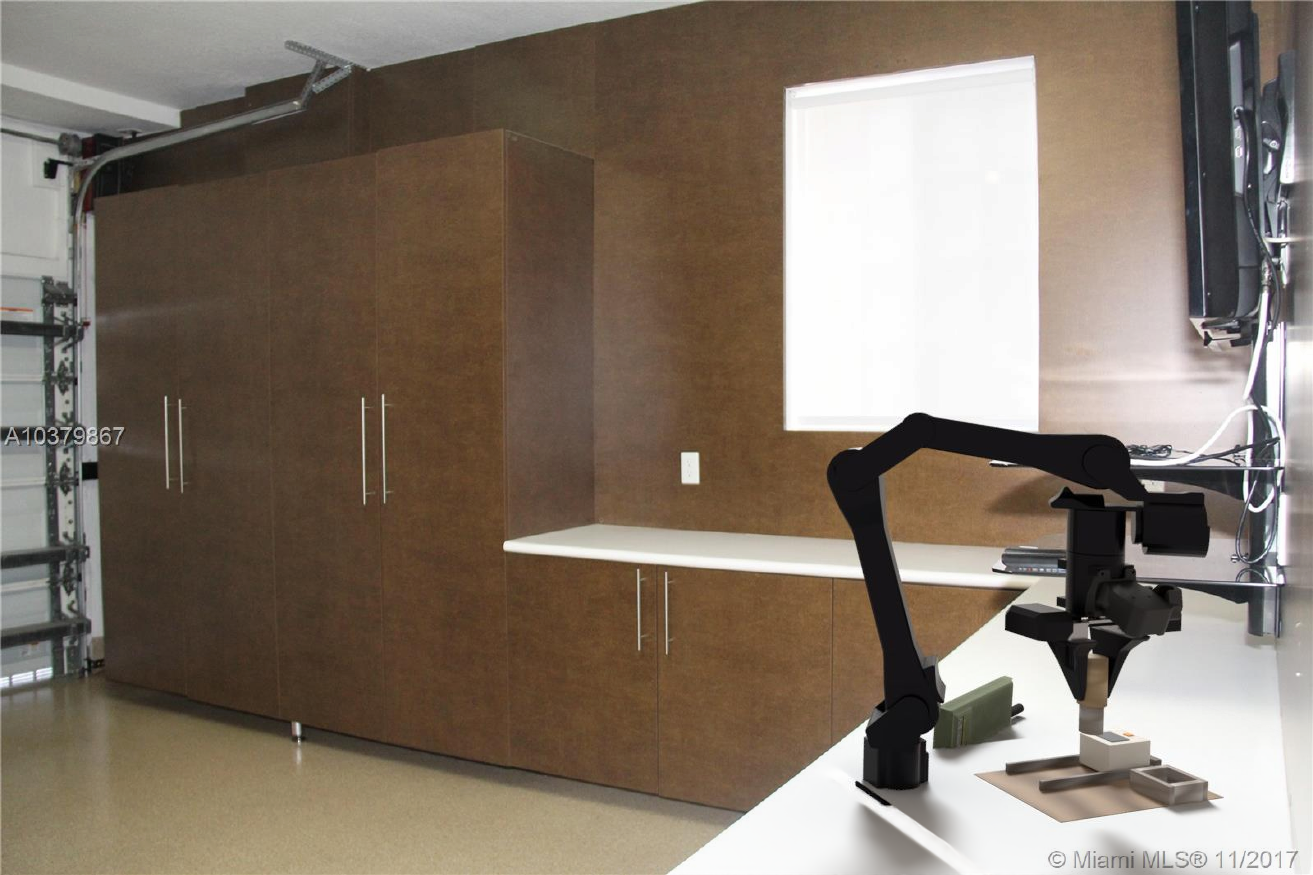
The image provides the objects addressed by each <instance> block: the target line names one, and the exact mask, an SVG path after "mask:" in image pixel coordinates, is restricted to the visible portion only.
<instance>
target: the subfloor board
mask: <svg viewBox="0 0 1313 875" xmlns="http://www.w3.org/2000/svg"><path fill="white" fill-rule="evenodd" d="M1079 755H1080V753H1077V754H1076V753H1074V754H1067V755H1061V756H1052V757H1044V758H1036V759H1028V760H1020V761H1019V760H1018V761H1012V762H1011V761H1010V762H1006V763H1005V769H1002V770H995V771H993V770H992V771H986V772H979V773H974V774H973V775H974V776H976V777H977V778H980V780H981V779H982V780H983V781H986V782H987V783H988V784H991V785H993V786H994V787H996V788H998V789H999V790H1002V791H1003V792H1005V793H1007V794H1009V795H1010V796H1013V797H1014V798H1016V799H1018V800H1019V801H1021V802H1023V803H1025V804H1026V805H1028V806H1030V807H1032V808H1034V809H1035V810H1038V811H1039V812H1041V813H1043V814H1045V815H1047V816H1048V817H1050V818H1052V819H1054V820H1056V821H1057V822H1059V823H1067V822H1073V821H1081V820H1086V819H1093V818H1099V817H1100V818H1101V817H1105V816H1113V815H1119V814H1126V813H1132V812H1140V811H1146V810H1153V809H1159V808H1164V807H1165V808H1166V807H1171V806H1179V805H1184V804H1190V803H1198V802H1204V801H1211V800H1218V799H1222V798H1223V799H1224V796H1222V795H1220V794H1217V793H1215V792H1212V791H1210V790H1209V781H1208V780H1206V779H1204V778H1202V777H1198V776H1197V775H1194V774H1192V773H1189V772H1186V771H1184V770H1182V769H1179V768H1177V767H1175V766H1172V765H1170V764H1167V763H1166V764H1162V763H1163V762H1162V761H1163V759H1161V758H1159V757H1156V756H1153V755H1152V754H1150V766H1143V767H1135V768H1128V769H1120V770H1113V771H1105V772H1099V771H1097V770H1095V769H1093V768H1091V767H1089V766H1086V765H1084V764H1082V763H1080V762H1079Z"/></svg>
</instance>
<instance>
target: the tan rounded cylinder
mask: <svg viewBox="0 0 1313 875" xmlns="http://www.w3.org/2000/svg"><path fill="white" fill-rule="evenodd" d="M1107 696H1108V657H1106V656H1103V655H1098V654H1092V653H1089V654H1088V666H1087V684H1086V693H1085V698H1084V701H1078V700H1076V699H1075V701H1076V703H1077V705H1078V708H1079V709H1078V711H1079V712H1078V732H1079V733H1084V734H1088V735H1102V734H1103V730H1104V726H1105V725H1104V723H1105V722H1104V721H1105V708H1107V707H1108V698H1107Z"/></svg>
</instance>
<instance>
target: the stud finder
mask: <svg viewBox="0 0 1313 875" xmlns="http://www.w3.org/2000/svg"><path fill="white" fill-rule="evenodd" d="M1079 754H1080V755H1079V762H1080V763H1082V764H1084V765H1086V766H1089V767H1091V768H1093V769H1095V770H1097V771H1099V772H1105V771H1113V770H1120V769H1128V768H1135V767H1143V766H1150V755H1151V739H1148V738H1145V737H1143V736H1140V735H1137V734H1135V733H1133V732H1130V731H1127V730H1126V729H1123V728H1120V727H1119V728H1113V729H1112V728H1111V729H1103V734H1102V735H1088V734H1084V733H1081V732H1079Z"/></svg>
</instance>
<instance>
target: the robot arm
mask: <svg viewBox="0 0 1313 875" xmlns="http://www.w3.org/2000/svg"><path fill="white" fill-rule="evenodd" d="M921 449H930V450H935V451H940V452H946V453H951V454H956V455H962V456H970V457H975V458H981V459H984V460H985V459H986V460H991V461H998V462H1003V463H1009V464H1014V465H1019V466H1026V467H1031V468H1034V469H1036V470H1038V471H1039V470H1040V471H1041V472H1045V473H1047V474H1050V475H1053V476H1055V477H1058V478H1061V479H1064V480H1066V481H1069V482H1072V483H1076V484H1078V485H1081V486H1084V487H1087V488H1090V489H1092V490H1096V491H1097V490H1098V491H1099V490H1100V491H1102V490H1103V491H1105V490H1109V491H1111V492H1112V493H1114V494H1116V495H1118V496H1119V497H1121V498H1123V499H1124V500H1126V501H1128V502H1136V504H1130V503H1129V504H1128V503H1111V502H1106V501H1105V497H1104V494H1103V493H1086V492H1082V493H1081V492H1073V490H1071V488H1070V487H1069V486H1068V485H1066V484H1065V485H1063V486H1062V487H1061V488H1060V490H1059V491H1058V492H1057V493H1056V494H1055V495H1054V496H1053V497H1051V498H1049V499H1048V501H1047V502H1048V505H1049V506H1050V507H1051V508H1052V509H1055V510H1056V509H1058V510H1059V509H1060V510H1066V512H1067V513H1066V514H1067V515H1066V517H1067V518H1066V552H1065V558H1057V564H1056V565H1057V566H1056V567H1057V569H1061V570H1065V581H1064V582H1065V584H1064V586H1065V591H1064V595H1062V596H1056V604H1055V605H1056V606H1055V607H1053V606H1049V605H1045V604H1043V603H1039V602H1036V603H1035V602H1034V603H1021V604H1020V603H1019V604H1011V605H1010V606H1009V608H1008V609H1007V610H1006V611H1005V615H1004V631H1006V632H1009V633H1013V634H1015V635H1019V636H1022V637H1025V638H1027V639H1031V640H1035V641H1036V642H1044V643H1045V642H1046V643H1047V646H1049V649H1050V650H1051V652H1052V653H1053V654H1052V655H1053V656H1054V658H1055V659H1056V662H1057V664H1058V665H1059V668H1060V669H1061V672H1062V674H1063V676H1064V679H1065V681H1066V684H1067V685H1068V688H1069V690H1070V692H1071V694H1072V696H1073V699H1074V700H1075V701H1076V700H1078V701H1084V698H1085V693H1086V684H1087V666H1088V654H1090V652H1091V651H1092V652H1091V654H1098V655H1103V656H1106V657H1108V696H1107V699H1110V696H1111V695H1112V692H1113V690H1114V688H1115V685H1116V683H1117V681H1118V678H1119V675H1120V673H1121V672H1122V668H1123V666H1124V664H1125V662H1126V660H1127V658H1128V656H1129V655H1130V652H1131V651H1132V650H1133V649H1135V648H1136V647H1137V646H1139V645H1141V644H1142V643H1144V642H1148V641H1150V639H1151V636H1152V635H1154V636H1155V635H1156V636H1157V637H1160V636H1161V637H1162V636H1164V635H1165V633H1174V632H1182V619H1183V618H1182V617H1183V616H1182V611H1183V608H1184V605H1183V604H1184V602H1183V591H1182V589H1181V588H1180V587H1178V586H1177V585H1175V584H1173V583H1160V584H1157V585H1156V586H1155V587H1153V586H1152V585H1142V584H1140V583H1138V581H1137V570H1136V568H1135V564H1131V563H1126V540H1127V539H1126V538H1127V533H1126V532H1127V512H1130V513H1131V514H1130V540H1131V544H1132V545H1139V544H1140V545H1141V550H1142V551H1141V552H1142V553H1143V555H1144V556H1164V557H1183V558H1199V559H1200V558H1203V559H1204V558H1206V556H1207V555H1208V553H1209V552H1208V551H1209V547H1210V540H1211V539H1210V537H1211V526H1210V525H1209V522H1208V521H1209V520H1208V514H1207V513H1208V512H1207V508H1206V504H1205V499H1206V497H1205V493H1204V492H1202V491H1199V490H1184V491H1179V492H1178V491H1177V492H1176V491H1172V492H1171V491H1148V490H1147V488H1146V484H1145V483H1142V482H1141V481H1140V480H1139V478H1138V477H1137V476H1136V474H1134V471H1132V469H1131V466H1132V465H1131V463H1132V462H1131V458H1132V457H1131V455H1130V453H1129V449H1128V448H1127V447H1126V445H1125V444H1124V443H1123V441H1121V440H1120V439H1118V438H1117V437H1114V436H1111V435H1108V434H1104V433H1093V432H1092V433H1088V432H1087V433H1086V432H1084V433H1083V432H1081V433H1080V432H1079V433H1074V432H1073V433H1071V432H1070V433H1069V432H1068V433H1064V432H1060V433H1059V432H1057V433H1049V432H1048V433H1047V432H1046V433H1041V432H1040V433H1034V432H1029V431H1024V430H1016V429H1013V428H1012V429H1011V428H1004V427H999V426H993V425H989V424H988V425H987V424H979V423H975V422H969V421H963V420H956V419H951V418H946V417H938V416H934V415H931V414H929V413H926V412H922V411H921V412H912V413H909V414H908V415H907V416H906V417H904V418H903V420H902V421H901V422H900V423H898V424H896V425H895V426H894V427H892V428H891V429H889V430H888V431H886V432H884V433H883V434H882V435H880V436H878V437H877V438H876V439H874V440H872V441H871V442H869V443H868V444H866V445H865V446H863V447H862V446H861V447H860V446H859V447H852V448H851V447H850V448H847V449H844V450H842V451H840V452H838V453H836V455H834V456H833V457H832V459H831V460H830V461H829V463H828V466H827V467H826V473H825V474H826V481H827V483H828V484H827V485H828V487H829V489H830V491H831V493H832V496H833V498H834V500H835V502H836V504H837V506H838V509H839V510H840V512H841V515H842V516H843V518H844V519H845V521H846V523H847V525H848V527H849V528H850V530H851V533H852V536H853V539H854V543H855V547H856V551H857V552H856V553H857V556H858V559H859V563H860V567H861V570H862V571H861V572H862V575H863V578H864V579H863V580H864V583H865V587H866V591H867V594H868V598H869V602H870V607H871V610H872V615H873V618H874V623H875V627H876V629H877V630H876V631H877V634H878V638H879V642H880V646H881V650H882V660H883V661H882V662H883V663H882V664H883V665H882V666H883V668H882V669H883V670H882V671H883V676H882V677H883V693H884V694H883V695H884V698H883V699H881V701H880V702H878V703H877V704H876V705H875V706H873V708H872V710H871V713H870V715H869V716H870V717H869V719H868V721H867V723H866V724H867V725H866V727H865V730H864V732H865V736H863V753H862V754H863V758H862V762H863V763H862V764H863V765H862V780H864V781H865V782H867V783H868V784H870V785H871V786H872V787H874V788H875V789H877V790H884V789H885V790H890V791H910V790H914V789H917V788H919V787H920V785H923V784H926V783H928V782H929V773H930V772H929V771H930V765H929V764H930V752H928V751H927V740H926V739H925V738H922V737H921V736H922V735H927V733H930V731H932V730H934V727H935V725H936V724H937V722H938V720H939V714H940V707H941V705H942V704H944V703H945V698H946V690H947V685H946V684H945V682H944V681H943V679H942V677H941V674H940V671H939V670H940V668H939V658H938V657H939V655H938V653H934V654H931V655H928V656H925V653H924V652H923V650H922V648H921V647H920V645H919V643H918V640H917V637H916V633H915V628H914V625H913V622H912V617H911V614H910V610H909V606H908V602H907V598H906V594H905V590H904V586H903V583H902V578H901V575H900V570H899V566H898V563H897V559H896V555H895V551H894V550H895V549H894V547H893V546H894V545H893V543H892V539H891V534H890V531H889V528H888V522H887V519H888V518H887V492H886V491H887V489H886V477H885V473H886V472H888V471H890V470H891V469H893V468H894V467H896V466H897V465H899V464H900V463H902V462H903V461H904V460H906V459H907V458H909V457H911V456H913V455H914V454H915V453H916V452H918V451H920V450H921ZM1140 545H1139V546H1140ZM1057 607H1060V608H1057ZM1061 608H1064V609H1061ZM1089 636H1090V638H1089ZM854 783H855V784H854V785H855V787H856V788H857V789H859V790H860V791H862V792H863V793H865V794H866V795H868V796H869V797H871V798H872V799H874V800H876V802H878V803H880V804H881V805H883V806H888V807H889V806H893V804H892V803H890V802H889V801H887V800H886V799H885V798H883V797H881V796H880V795H879V794H878V793H876V792H875V791H873V790H871V788H868V786H866V785H865V784H863V783H861V782H860V781H858V780H855V782H854Z"/></svg>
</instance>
